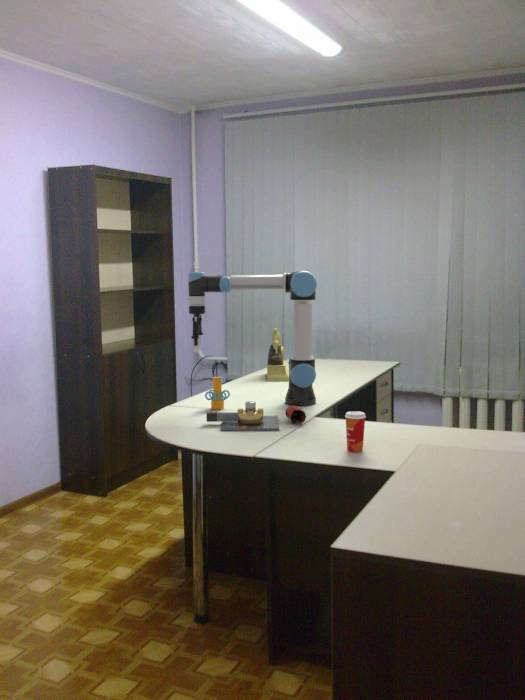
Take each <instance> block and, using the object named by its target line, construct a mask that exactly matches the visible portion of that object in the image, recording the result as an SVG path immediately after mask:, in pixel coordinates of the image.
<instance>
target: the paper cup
mask: <svg viewBox="0 0 525 700" xmlns="http://www.w3.org/2000/svg"><path fill="white" fill-rule="evenodd" d="M344 417H345V428H346V429H345V431H346V433H345V434H346V449H347V451H348V452H351V453H360V452H363V450H364V449H363V448H364V435H365V423H366V417H367V415H366V413H365V412H363V411H359V410H358V411H357V410H356V411H355V410H353V411H347V412H346V413H345V415H344Z"/></svg>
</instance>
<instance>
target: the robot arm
mask: <svg viewBox="0 0 525 700" xmlns="http://www.w3.org/2000/svg"><path fill="white" fill-rule="evenodd" d="M188 273H189V274H188V282H187V283H188V297H187V301H188V305H189V306H188V313H189V315H190V314H191V315H193V316H192V336H190V337H191V339H192V351H193V353H195V354H198V353H200V350H202V349H203V343H202V342H203V341H202V339H203V337H202V336H203V335H204V332H203V329H202V321H203V319H202V315H204V314H205V313H206V306H205V305H206V293H223V294H224V293H230V292H254V291H255V292H263V291H265V292H267V291H270V292H271V291H272V292H273V291H274V292H275V291H282V292H283V293H285V294H286V293H287V294H289V293H290V295H289V297H290V301H291V302H292V304H293V354H292V356H289V357H288V372H289V381H288V389H287V392H286V393H285V397H284V400H285V401H284V403H285V404H287V405H289V406H290V405H296V406H310V405H315V404H316V403H317V397H316V394H315V391H314V389H313V387H314V386H313V383H315V380H316V378H317V372H316V358H315V356H314V355H313V303H314V302H315V301H316V294H317V293H316V291H317V290H316V289H317V286H318V284H317V283H318V282H317V279H316V277H315V275H314V274H313V273H312V272H310V271H308V270H298V271H292V272H290V271H289V272H284V273H283V274H245V275H244V274H241V275H240V274H238V275H231V274H229V275H227V274H225V275H224V274H223V275H221V274H220V275H219V274H217V275H210V276H209V275H206V274H205V272H204V271H191V272H188Z"/></svg>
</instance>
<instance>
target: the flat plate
mask: <svg viewBox="0 0 525 700" xmlns="http://www.w3.org/2000/svg"><path fill="white" fill-rule="evenodd" d="M244 404H245V405H244V406H245V407H244V410H245V412H247V413H248V411H253V412H256V410H257V407H256V401H252V400H251V401H245V403H244ZM220 428H221V429H220V432H279V431H280V421H279V415H263V423H260V424H241V423H238V421H221V427H220Z"/></svg>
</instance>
